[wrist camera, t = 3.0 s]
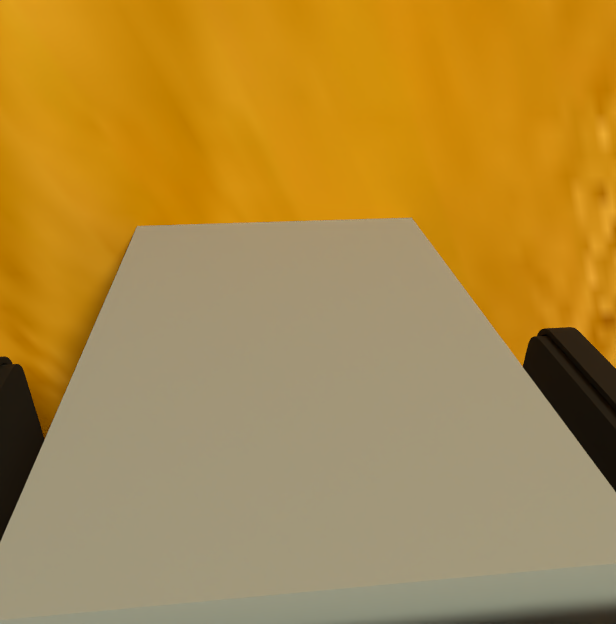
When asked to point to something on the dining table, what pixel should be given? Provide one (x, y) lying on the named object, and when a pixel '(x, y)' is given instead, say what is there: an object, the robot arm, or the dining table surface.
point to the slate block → (304, 448)
